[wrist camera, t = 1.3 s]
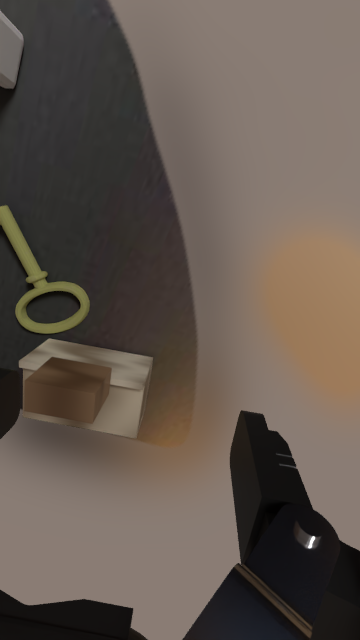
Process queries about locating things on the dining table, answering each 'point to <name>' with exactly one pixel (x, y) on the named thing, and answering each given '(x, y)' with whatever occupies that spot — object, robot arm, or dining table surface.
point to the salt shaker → (9, 52)
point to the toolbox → (107, 410)
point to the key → (39, 282)
